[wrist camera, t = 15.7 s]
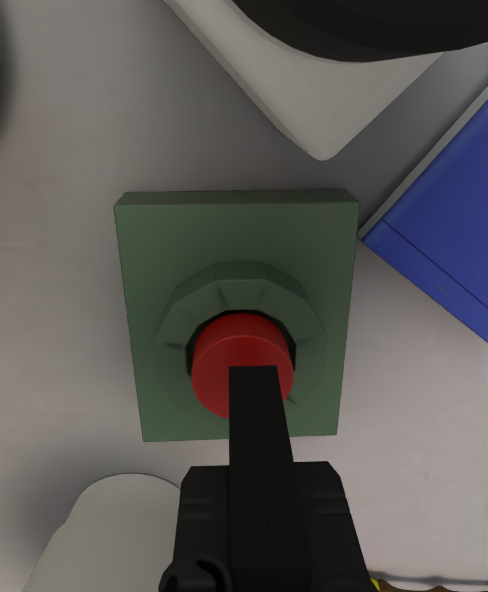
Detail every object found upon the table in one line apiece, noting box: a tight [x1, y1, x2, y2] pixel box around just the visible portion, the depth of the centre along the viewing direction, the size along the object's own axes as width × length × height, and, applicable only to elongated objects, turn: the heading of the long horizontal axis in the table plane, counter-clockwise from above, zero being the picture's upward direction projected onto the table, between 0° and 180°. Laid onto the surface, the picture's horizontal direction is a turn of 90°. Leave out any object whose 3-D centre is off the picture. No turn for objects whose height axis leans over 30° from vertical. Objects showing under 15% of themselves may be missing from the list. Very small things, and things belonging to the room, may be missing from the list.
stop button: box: [191, 313, 294, 419], centre depth 17 cm, size 4×4×2 cm
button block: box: [114, 189, 360, 442], centre depth 19 cm, size 11×9×4 cm
